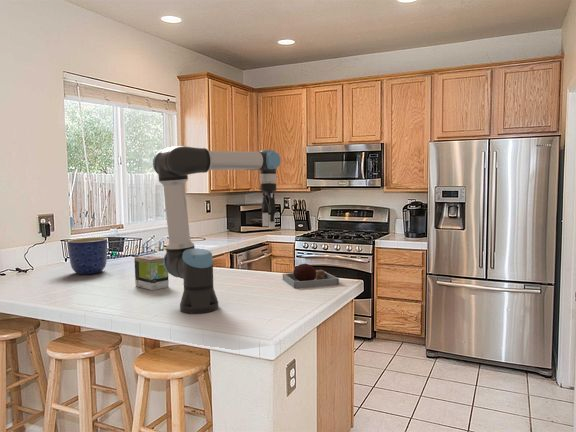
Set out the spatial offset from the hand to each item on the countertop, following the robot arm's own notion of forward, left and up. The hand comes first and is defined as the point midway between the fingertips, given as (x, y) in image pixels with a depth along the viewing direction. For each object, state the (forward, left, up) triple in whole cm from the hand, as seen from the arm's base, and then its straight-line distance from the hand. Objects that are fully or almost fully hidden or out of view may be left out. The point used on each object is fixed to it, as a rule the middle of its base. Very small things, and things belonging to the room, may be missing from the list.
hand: (268, 227), depth 224 cm
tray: (+19, -3, -28) cm, 34 cm away
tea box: (-55, +18, -28) cm, 64 cm away
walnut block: (+26, +3, -27) cm, 38 cm away
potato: (+17, -3, -28) cm, 32 cm away
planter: (-89, +67, -28) cm, 114 cm away
